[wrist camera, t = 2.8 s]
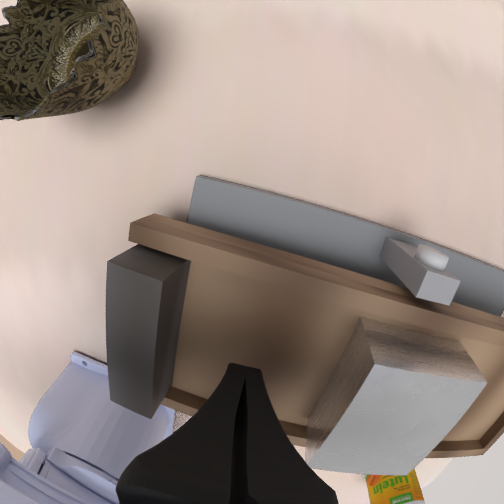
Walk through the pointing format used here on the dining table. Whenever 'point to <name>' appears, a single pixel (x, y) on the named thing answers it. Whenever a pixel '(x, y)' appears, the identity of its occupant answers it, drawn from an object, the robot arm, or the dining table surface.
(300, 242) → the stand
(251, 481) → the robot arm
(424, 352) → the block
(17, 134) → the dining table surface
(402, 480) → the supplement bottle
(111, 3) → the cup
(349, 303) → the seesaw beam
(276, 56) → the dining table surface
